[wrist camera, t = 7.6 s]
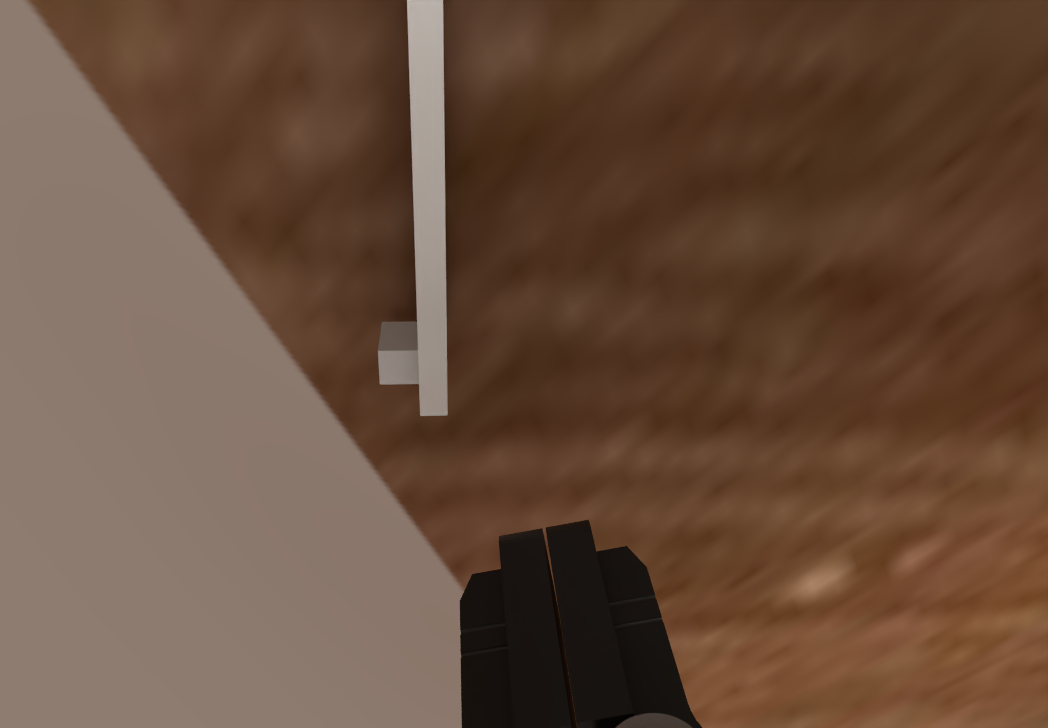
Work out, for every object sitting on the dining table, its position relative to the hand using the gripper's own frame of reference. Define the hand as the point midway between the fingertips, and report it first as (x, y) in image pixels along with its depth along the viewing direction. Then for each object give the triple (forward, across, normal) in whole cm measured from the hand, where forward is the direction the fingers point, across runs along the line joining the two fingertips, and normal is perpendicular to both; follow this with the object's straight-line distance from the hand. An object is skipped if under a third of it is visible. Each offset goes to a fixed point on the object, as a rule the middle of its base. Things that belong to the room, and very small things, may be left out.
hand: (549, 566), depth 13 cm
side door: (+16, +2, -4) cm, 16 cm away
